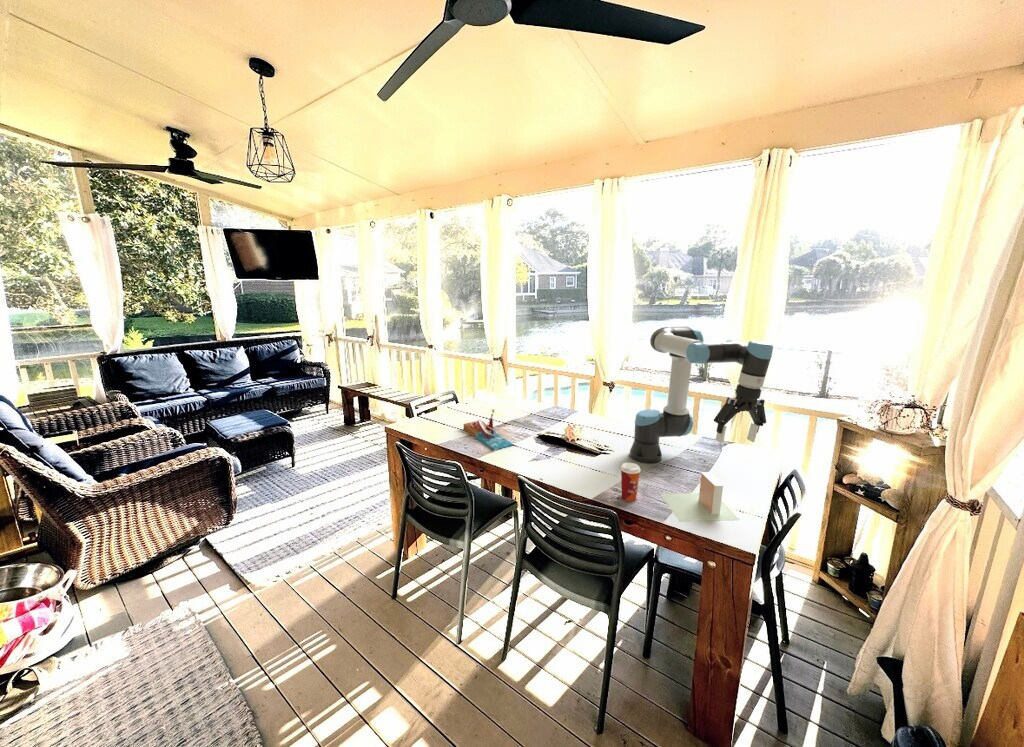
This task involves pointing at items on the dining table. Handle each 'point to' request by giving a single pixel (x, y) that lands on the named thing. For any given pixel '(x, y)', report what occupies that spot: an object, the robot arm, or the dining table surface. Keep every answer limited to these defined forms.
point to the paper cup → (629, 481)
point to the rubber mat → (694, 508)
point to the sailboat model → (487, 434)
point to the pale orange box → (710, 493)
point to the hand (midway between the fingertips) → (734, 440)
